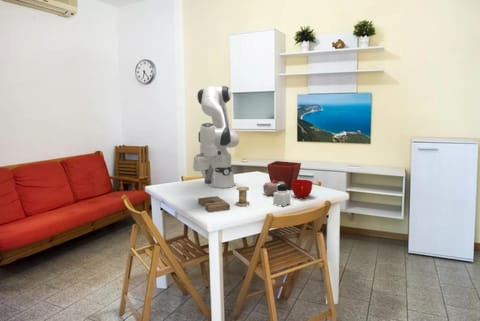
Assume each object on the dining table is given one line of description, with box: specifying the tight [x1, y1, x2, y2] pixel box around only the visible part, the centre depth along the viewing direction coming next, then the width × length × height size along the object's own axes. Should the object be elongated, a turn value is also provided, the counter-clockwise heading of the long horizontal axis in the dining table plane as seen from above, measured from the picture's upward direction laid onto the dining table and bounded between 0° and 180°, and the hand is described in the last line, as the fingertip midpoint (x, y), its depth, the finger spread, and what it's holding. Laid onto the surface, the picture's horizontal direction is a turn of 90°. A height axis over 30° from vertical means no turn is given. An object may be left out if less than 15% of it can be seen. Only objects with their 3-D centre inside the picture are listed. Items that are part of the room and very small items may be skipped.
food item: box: [262, 180, 285, 197], centre depth 237 cm, size 14×8×10 cm, turn 102°
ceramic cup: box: [291, 179, 313, 199], centre depth 229 cm, size 13×17×10 cm
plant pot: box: [267, 160, 302, 191], centre depth 258 cm, size 19×19×17 cm
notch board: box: [197, 195, 231, 213], centre depth 210 cm, size 20×12×3 cm, turn 24°
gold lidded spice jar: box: [204, 164, 212, 185], centre depth 206 cm, size 4×4×11 cm
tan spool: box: [235, 185, 250, 207], centre depth 214 cm, size 8×8×10 cm
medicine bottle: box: [272, 184, 291, 207], centre depth 214 cm, size 7×7×12 cm
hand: (208, 176), depth 207 cm, fingers closed on gold lidded spice jar, 4 cm apart
